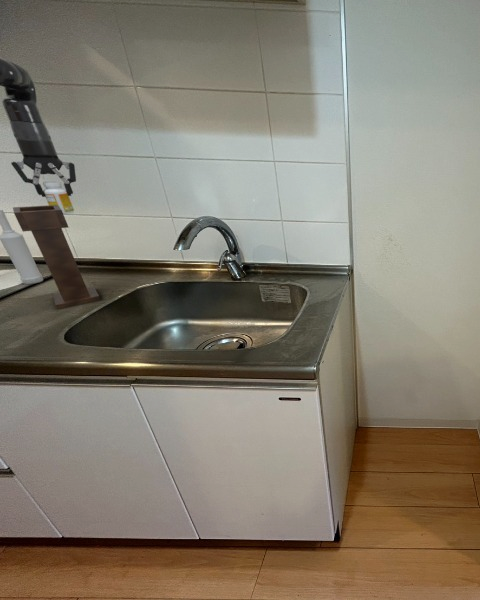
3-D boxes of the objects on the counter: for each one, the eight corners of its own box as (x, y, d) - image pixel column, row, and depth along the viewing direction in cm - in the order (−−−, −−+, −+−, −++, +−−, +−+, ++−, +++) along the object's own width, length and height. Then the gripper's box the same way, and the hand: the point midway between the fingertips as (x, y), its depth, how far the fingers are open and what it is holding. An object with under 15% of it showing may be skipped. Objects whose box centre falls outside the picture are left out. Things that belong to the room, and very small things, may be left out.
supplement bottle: (74, 210, 108) (63, 181, 103) (75, 213, 104) (63, 183, 100) (52, 211, 104) (39, 181, 100) (52, 214, 101) (39, 183, 96)
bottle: (42, 277, 113) (8, 208, 102) (45, 281, 110) (11, 210, 99) (21, 281, 109) (-17, 209, 98) (24, 285, 106) (-14, 212, 95)
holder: (57, 309, 94) (10, 213, 81) (54, 298, 100) (10, 207, 87) (100, 299, 101) (64, 210, 88) (95, 290, 107) (60, 204, 94)
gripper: (65, 140, 101) (84, 193, 109) (-3, 136, 91) (23, 195, 99) (68, 141, 97) (88, 196, 105) (-3, 137, 87) (24, 199, 95)
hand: (56, 195), depth 102 cm, fingers closed on supplement bottle, 5 cm apart
